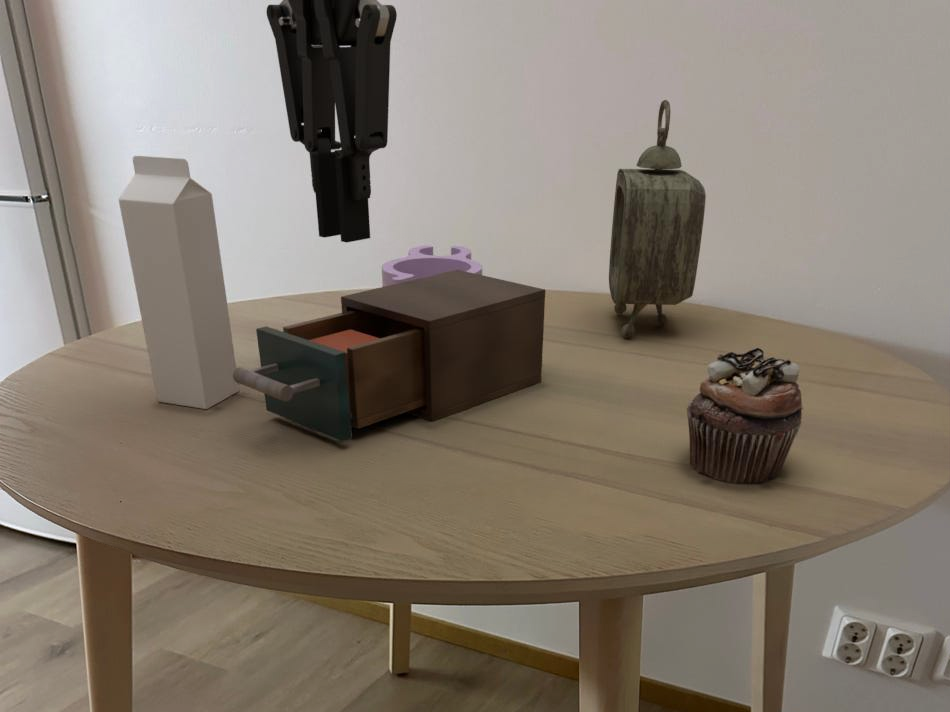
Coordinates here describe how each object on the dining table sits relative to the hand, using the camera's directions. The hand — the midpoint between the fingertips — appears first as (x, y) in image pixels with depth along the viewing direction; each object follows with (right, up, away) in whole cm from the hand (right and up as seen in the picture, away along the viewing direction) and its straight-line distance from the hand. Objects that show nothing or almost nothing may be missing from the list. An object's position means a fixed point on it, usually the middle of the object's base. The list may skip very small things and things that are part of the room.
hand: (344, 236), depth 81 cm
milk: (-17, -11, +14) cm, 24 cm away
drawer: (-1, -13, +8) cm, 16 cm away
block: (-1, -12, +8) cm, 15 cm away
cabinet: (+8, -9, +17) cm, 21 cm away
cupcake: (+35, -20, 0) cm, 40 cm away
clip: (+6, +6, +39) cm, 40 cm away
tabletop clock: (+33, +4, +36) cm, 49 cm away
